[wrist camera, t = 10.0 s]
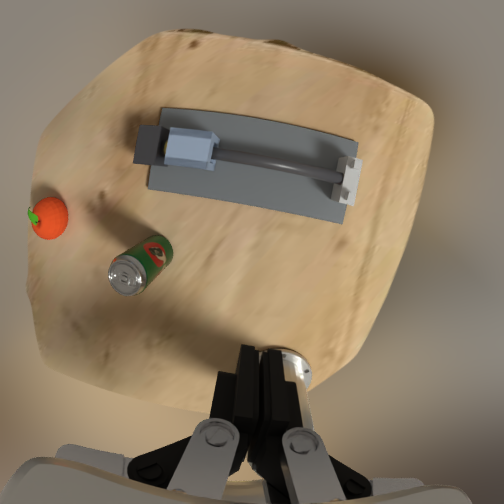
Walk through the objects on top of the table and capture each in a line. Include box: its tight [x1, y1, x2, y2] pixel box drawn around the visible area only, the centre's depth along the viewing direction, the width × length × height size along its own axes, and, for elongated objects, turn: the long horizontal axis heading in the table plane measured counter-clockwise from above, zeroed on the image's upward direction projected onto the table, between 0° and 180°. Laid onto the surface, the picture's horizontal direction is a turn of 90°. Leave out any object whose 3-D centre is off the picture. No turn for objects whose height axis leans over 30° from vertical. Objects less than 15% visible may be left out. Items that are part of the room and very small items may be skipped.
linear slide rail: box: [133, 108, 363, 224], centre depth 33 cm, size 28×12×6 cm, turn 80°
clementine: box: [28, 197, 68, 240], centre depth 35 cm, size 8×7×7 cm
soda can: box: [108, 235, 173, 296], centre depth 34 cm, size 5×5×12 cm
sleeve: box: [164, 127, 220, 171], centre depth 32 cm, size 5×4×6 cm
